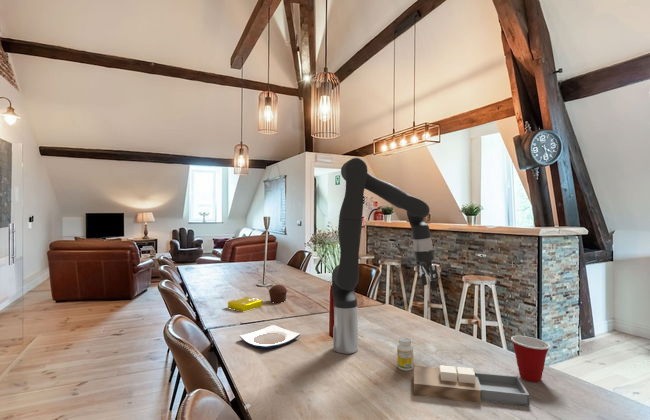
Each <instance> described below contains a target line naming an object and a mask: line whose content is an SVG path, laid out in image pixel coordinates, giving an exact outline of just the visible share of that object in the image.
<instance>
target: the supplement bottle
mask: <svg viewBox="0 0 650 420" xmlns="http://www.w3.org/2000/svg"><path fill="white" fill-rule="evenodd" d="M396 351H397V352H396V353H397V354H396V356H397V357H396V359H397V361H396V362H397V367H398V369H399V370H402V371H406V372H407V371H408V372H409V371H412V370H414V348H413V346H412V340H411V338H408V337H400V338H399V339H398V344H397V347H396Z"/></svg>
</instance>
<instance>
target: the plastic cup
mask: <svg viewBox="0 0 650 420" xmlns="http://www.w3.org/2000/svg"><path fill="white" fill-rule="evenodd" d="M510 337H511V338H510V339H511V341H512V345H513V349H514V354H515V360H516V364H517V368H518V373H519V376H520V377H519V378H521V379H522V380H523V381H526V382H530V383H539V382H541V381H542V378H543V371H544V368H545V362H546V358H547V357H546V356H547V354H548V351H549V349H551V345H550V344H549V343H548V342H547V341H544V340H541V339H539V338H536V337H532V336H525V335H513V336H510Z"/></svg>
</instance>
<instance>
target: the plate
mask: <svg viewBox="0 0 650 420" xmlns="http://www.w3.org/2000/svg"><path fill="white" fill-rule="evenodd" d="M267 333H278V334H282V335H284V336H285V340H284V341H282V342H278V343H275V344H259V343H256V342H254V338H255V337H257V336H259V335H263V334H267ZM300 335H301V333H300V332H295V331H292V330H289V329H286V328H282V327H280V326H278V325H275V324H271V325H269V326H267V327H264V328H261V329H259V330H256V331H252V332H249V333H248V332H247V333H245V334H240V335H239V338H240V339H241V340H242V341H243V342H245V344H248V345H250V346H253V347H255V348H259V349H265V350H267V349H272V348H273V349H274V348H278V347H281V346H283V344H284V345H286V344H287V343H290V342H292V341H294V340H296V339H297V338H299V336H300ZM280 345H281V346H280ZM277 346H278V347H277Z"/></svg>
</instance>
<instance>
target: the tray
mask: <svg viewBox="0 0 650 420" xmlns="http://www.w3.org/2000/svg"><path fill="white" fill-rule="evenodd" d="M474 373H475V377H476V380H477V382H478V385H479V388H480V394H481V402H482V401H483V402H491V403H499V404H500V403H502V404H509V405H518V406H527V407H530V404H531V403H530V394H529V391H528V390H527V389H526V386H525V385H524V384H523V383H522V381H521V379H520V377H519V376H518V375H508V374H498V373H497V374H496V373H485V372H475V371H474Z"/></svg>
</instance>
